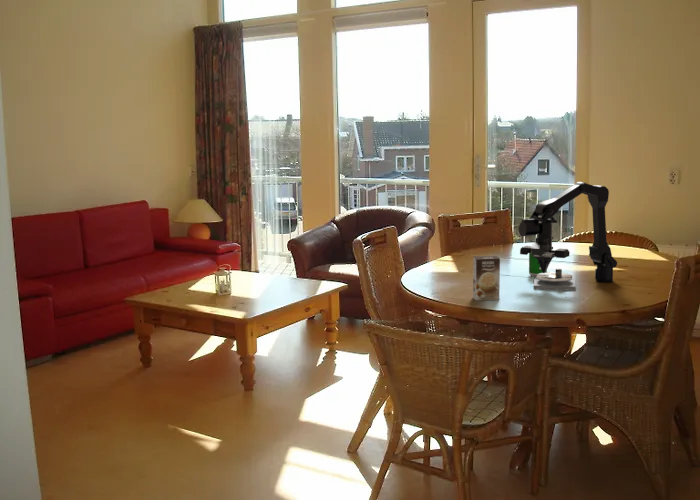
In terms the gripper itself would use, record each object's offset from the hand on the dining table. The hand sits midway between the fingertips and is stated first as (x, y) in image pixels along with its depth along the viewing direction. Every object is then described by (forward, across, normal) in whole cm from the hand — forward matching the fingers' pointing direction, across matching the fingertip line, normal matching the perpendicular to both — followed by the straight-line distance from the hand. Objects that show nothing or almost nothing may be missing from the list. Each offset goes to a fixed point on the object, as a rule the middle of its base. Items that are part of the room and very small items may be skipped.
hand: (544, 273), depth 299 cm
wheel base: (+6, +2, +5) cm, 8 cm away
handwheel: (+3, +2, +5) cm, 7 cm away
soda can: (+6, -12, +20) cm, 24 cm away
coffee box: (+6, -11, -28) cm, 31 cm away
